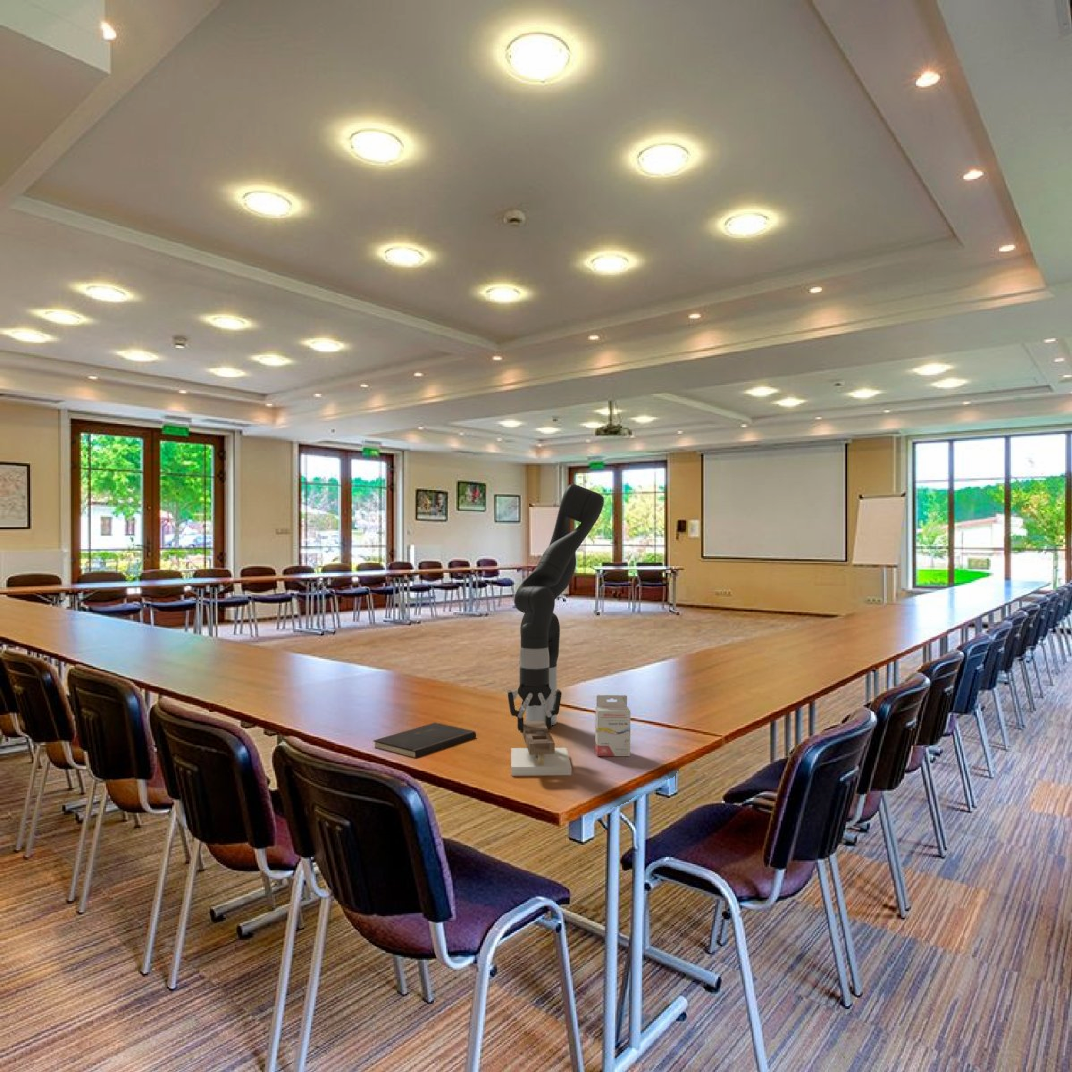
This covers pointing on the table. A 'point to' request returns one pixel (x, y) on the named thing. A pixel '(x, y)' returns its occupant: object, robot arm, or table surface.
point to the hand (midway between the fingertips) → (534, 731)
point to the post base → (539, 762)
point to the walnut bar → (538, 738)
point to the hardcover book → (424, 739)
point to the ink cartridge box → (612, 726)
